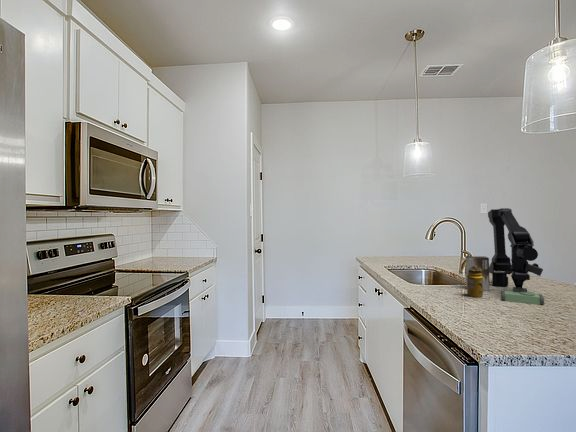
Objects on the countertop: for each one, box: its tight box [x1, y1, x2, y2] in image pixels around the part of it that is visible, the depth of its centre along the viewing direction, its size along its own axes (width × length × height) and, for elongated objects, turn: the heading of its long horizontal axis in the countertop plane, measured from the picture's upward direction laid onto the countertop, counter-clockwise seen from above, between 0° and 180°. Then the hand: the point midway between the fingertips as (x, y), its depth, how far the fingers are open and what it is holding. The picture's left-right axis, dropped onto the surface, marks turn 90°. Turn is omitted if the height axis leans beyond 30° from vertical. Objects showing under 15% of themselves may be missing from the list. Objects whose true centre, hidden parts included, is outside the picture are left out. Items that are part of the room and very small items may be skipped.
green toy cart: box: [500, 289, 545, 306], centre depth 142 cm, size 14×12×4 cm
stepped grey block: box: [511, 286, 528, 292], centre depth 146 cm, size 5×6×4 cm
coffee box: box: [465, 255, 491, 292], centre depth 162 cm, size 9×6×16 cm
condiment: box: [459, 269, 488, 299], centre depth 149 cm, size 7×8×12 cm
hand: (519, 292), depth 149 cm, fingers closed
